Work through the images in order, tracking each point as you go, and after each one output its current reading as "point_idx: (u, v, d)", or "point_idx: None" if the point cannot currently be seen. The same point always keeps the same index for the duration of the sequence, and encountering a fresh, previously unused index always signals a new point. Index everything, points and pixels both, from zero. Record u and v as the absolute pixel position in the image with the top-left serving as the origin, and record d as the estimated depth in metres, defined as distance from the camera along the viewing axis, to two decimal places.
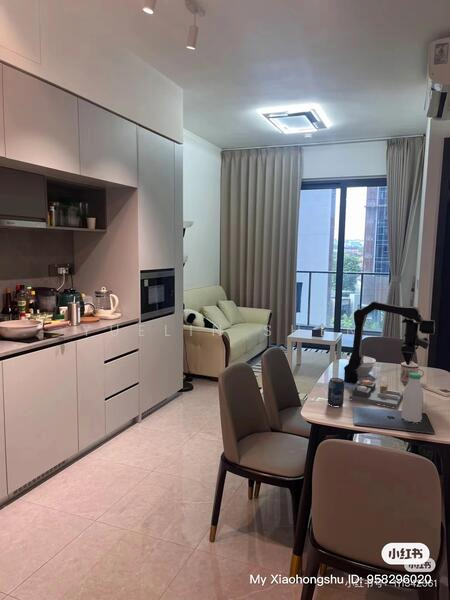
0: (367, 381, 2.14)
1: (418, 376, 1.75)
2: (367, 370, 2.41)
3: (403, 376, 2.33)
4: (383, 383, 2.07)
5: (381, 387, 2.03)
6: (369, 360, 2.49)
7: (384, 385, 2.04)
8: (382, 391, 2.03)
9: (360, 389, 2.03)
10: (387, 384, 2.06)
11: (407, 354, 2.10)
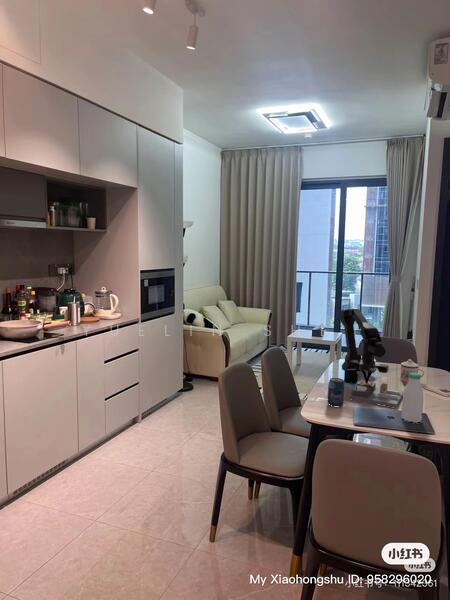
0: (367, 383, 2.14)
1: (418, 376, 1.75)
2: None
3: (403, 376, 2.33)
4: (383, 383, 2.07)
5: (381, 387, 2.03)
6: None
7: (384, 385, 2.04)
8: (382, 391, 2.03)
9: (360, 389, 2.03)
10: (387, 384, 2.06)
11: None
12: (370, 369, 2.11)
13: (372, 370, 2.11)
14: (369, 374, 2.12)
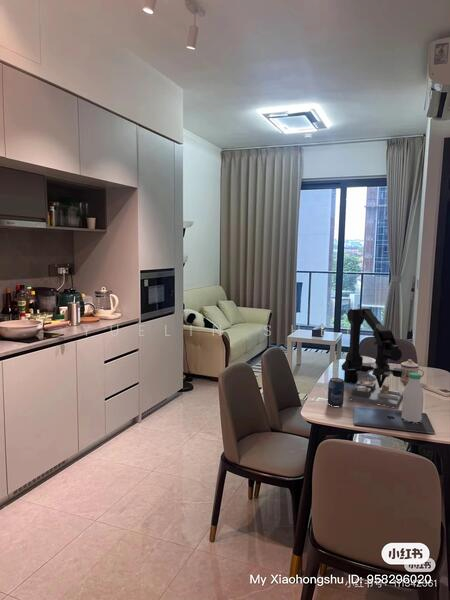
0: (367, 383, 2.14)
1: (418, 376, 1.75)
2: None
3: (403, 376, 2.33)
4: None
5: (383, 387, 2.03)
6: (369, 360, 2.49)
7: (386, 385, 2.04)
8: (384, 391, 2.03)
9: (360, 389, 2.03)
10: None
11: None
12: (384, 373, 2.03)
13: (386, 374, 2.02)
14: (383, 378, 2.03)
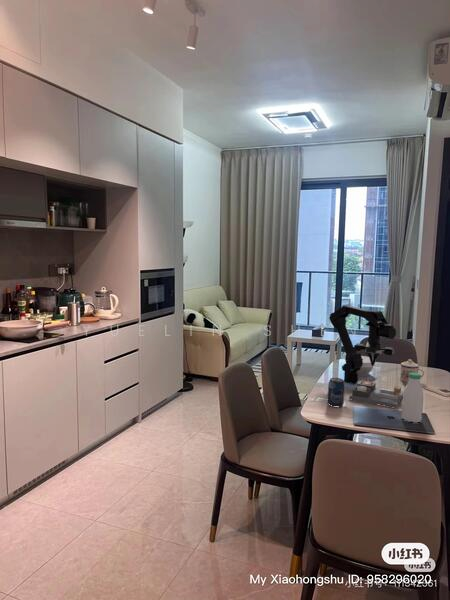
0: (367, 383, 2.14)
1: (418, 376, 1.75)
2: (367, 370, 2.41)
3: (403, 376, 2.33)
4: None
5: (395, 389, 2.00)
6: (369, 360, 2.49)
7: (398, 387, 2.01)
8: (395, 393, 2.00)
9: (360, 389, 2.03)
10: None
11: None
12: (376, 352, 2.16)
13: (378, 353, 2.15)
14: (375, 357, 2.16)
